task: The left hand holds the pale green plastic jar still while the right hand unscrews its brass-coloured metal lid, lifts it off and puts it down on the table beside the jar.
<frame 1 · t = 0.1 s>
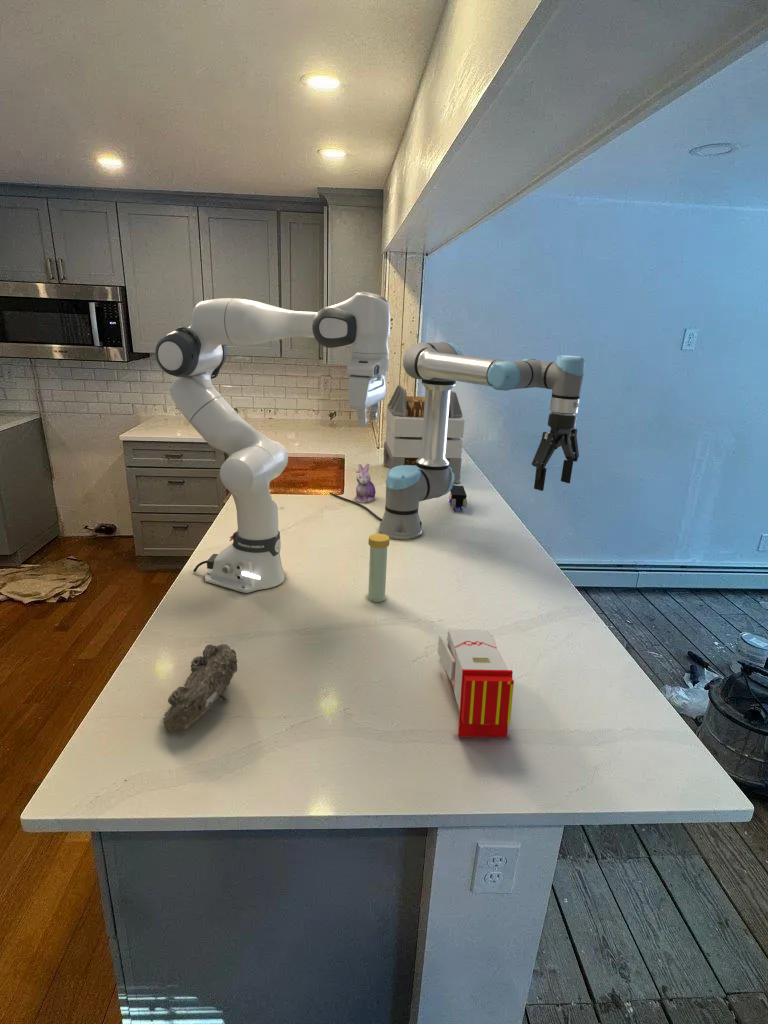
left hand: (368, 422, 140), 48 cm above the counter, tool pointing down, fingers open, 8 cm apart
right hand: (552, 485, 166), 28 cm above the counter, tool pointing down, fingers open, 13 cm apart
white slatted crate: (419, 473, 275), on the counter
figurine character: (456, 507, 229), on the counter
figurine: (365, 499, 234), on the counter
fossil: (207, 698, 113), on the counter
jar: (376, 597, 155), on the counter
toy: (469, 691, 119), on the counter
lid: (379, 538, 149), point 18 cm above the counter, screwed on, not yet turned
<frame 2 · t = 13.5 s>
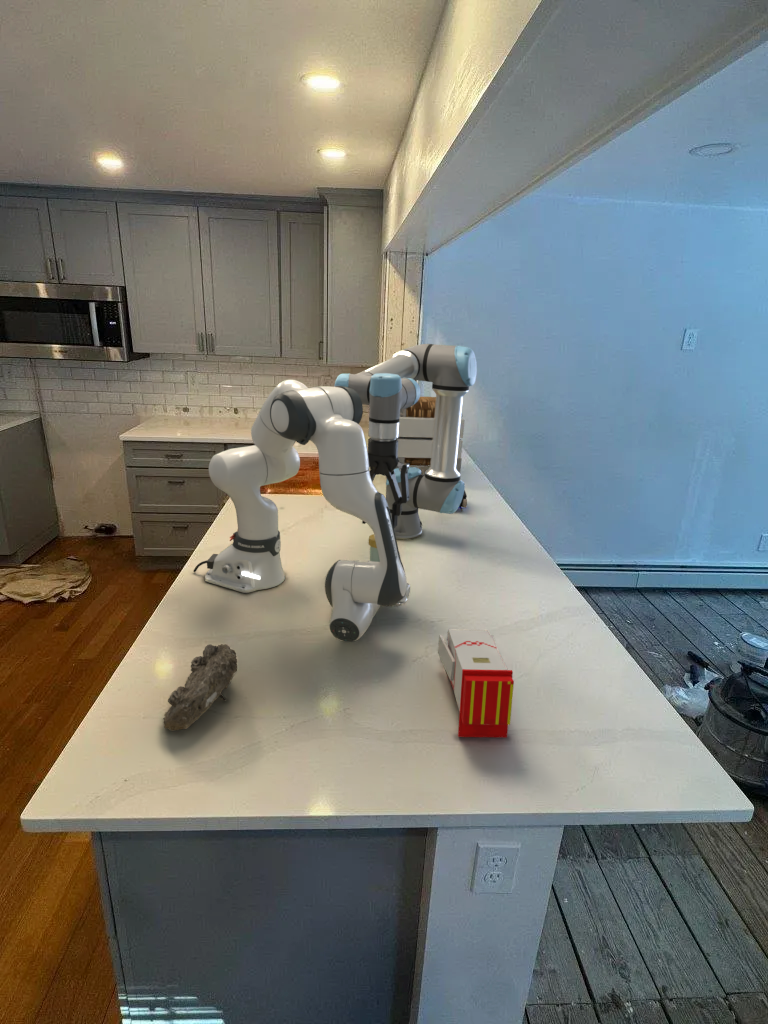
left hand: (378, 575, 154), 6 cm above the counter, tool horizontal, fingers closed on jar, 4 cm apart
right hand: (379, 524, 148), 22 cm above the counter, tool pointing down, fingers open, 7 cm apart
jar: (376, 597, 155), on the counter, touching left hand
everything else where it was.
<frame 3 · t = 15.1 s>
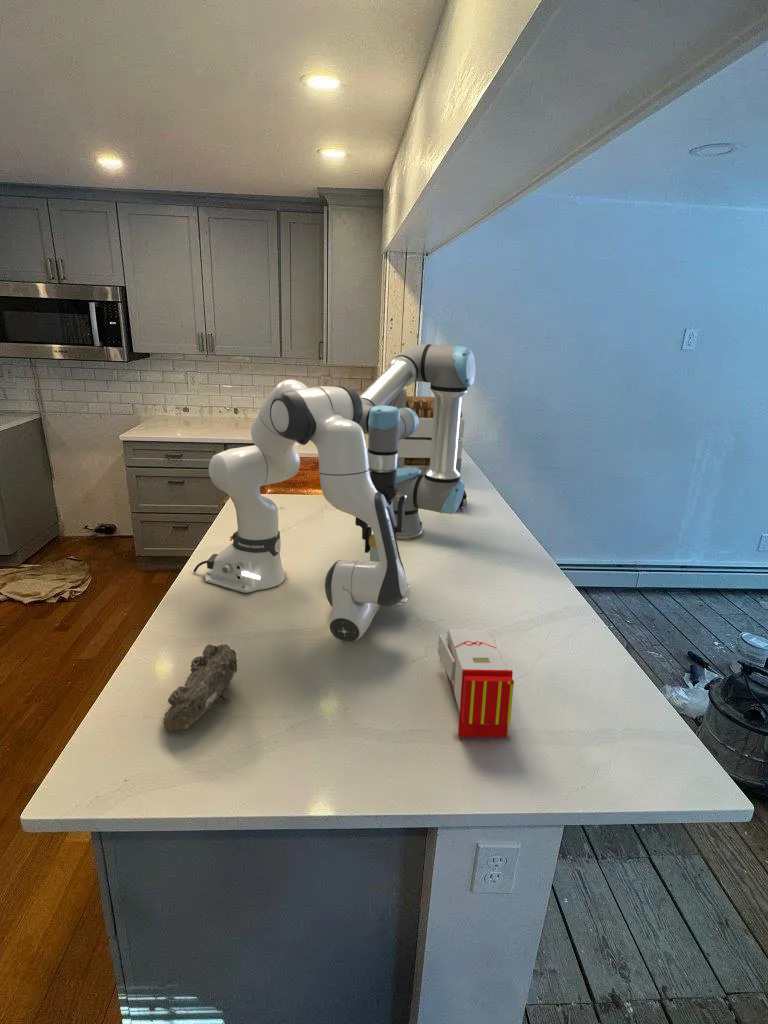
left hand: (378, 575, 154), 6 cm above the counter, tool horizontal, fingers closed on jar, 4 cm apart
right hand: (378, 552, 151), 13 cm above the counter, tool pointing down, fingers closed on lid, 5 cm apart
jar: (376, 597, 155), on the counter, touching left hand
lid: (379, 538, 149), point 18 cm above the counter, screwed on, not yet turned, touching right hand
everything else where it was.
when the right hand's fingers open (14 cm above the counter, at t = 16.5 s): lid stays where it is, point 18 cm above the counter.
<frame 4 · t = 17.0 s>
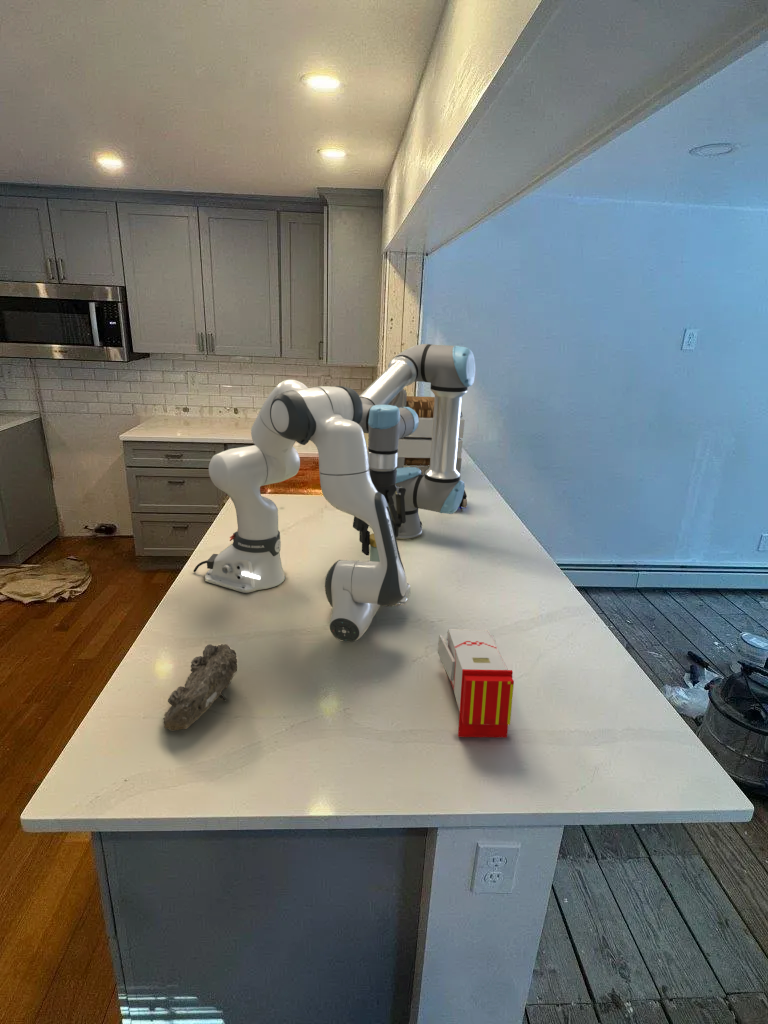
left hand: (378, 575, 154), 6 cm above the counter, tool horizontal, fingers closed on jar, 4 cm apart
right hand: (378, 550, 151), 14 cm above the counter, tool pointing down, fingers open, 7 cm apart
jar: (376, 597, 155), on the counter, touching left hand
lid: (379, 537, 149), point 18 cm above the counter, turned 89° so far, risen 0.2 cm, still on its thread
everything else where it was.
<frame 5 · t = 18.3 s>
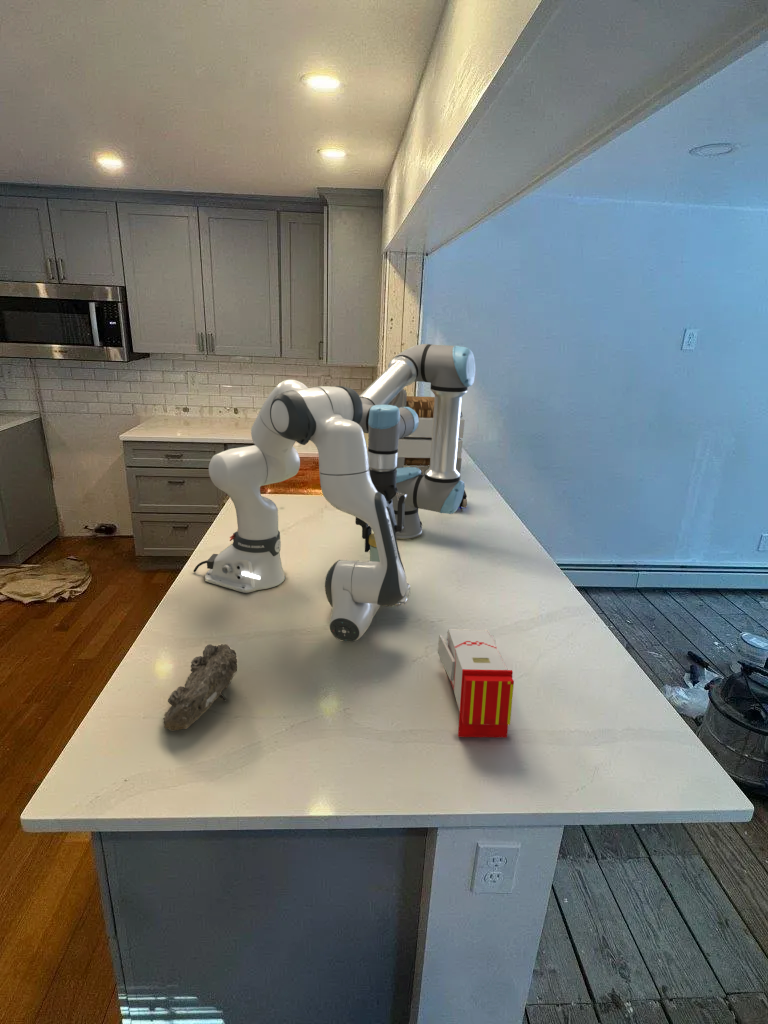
left hand: (378, 575, 154), 6 cm above the counter, tool horizontal, fingers closed on jar, 4 cm apart
right hand: (378, 551, 151), 14 cm above the counter, tool pointing down, fingers closed on lid, 5 cm apart
jar: (376, 597, 155), on the counter, touching left hand
lid: (379, 537, 149), point 18 cm above the counter, turned 89° so far, risen 0.2 cm, still on its thread, touching right hand
everything else where it was.
when the right hand's fingers open (0 cm above the counter, at t = 24.1 s): lid drops 3 cm, point 2 cm above the counter.
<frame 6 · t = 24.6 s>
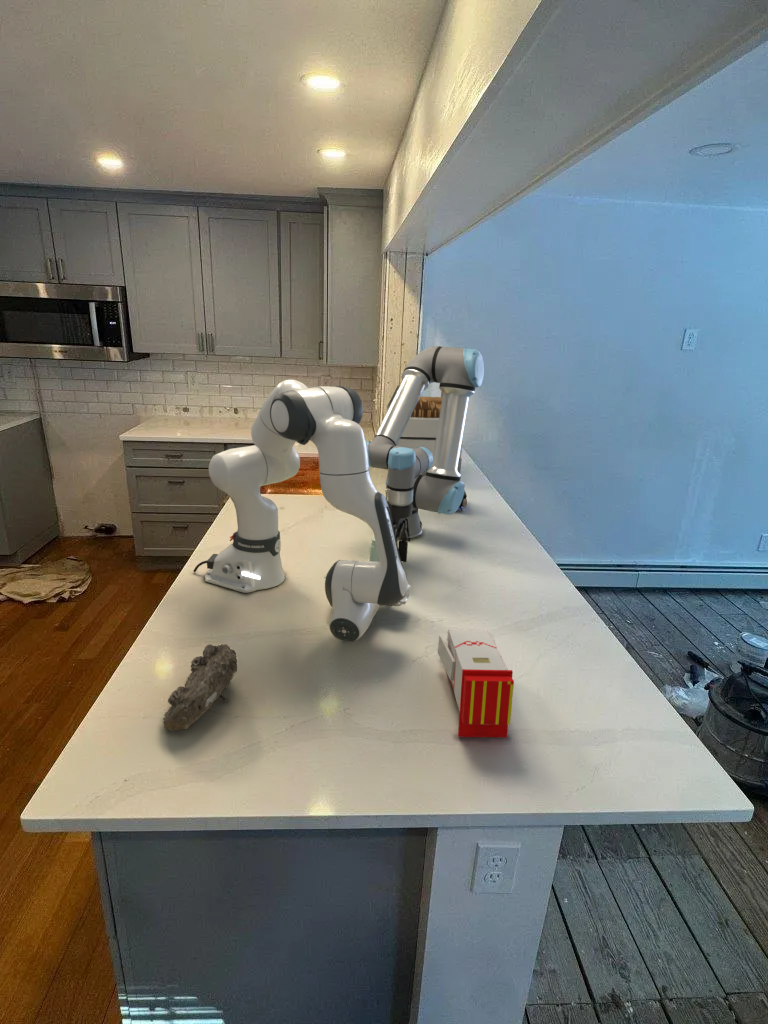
left hand: (378, 575, 154), 6 cm above the counter, tool horizontal, fingers closed on jar, 4 cm apart
right hand: (395, 569, 170), 1 cm above the counter, tool pointing down, fingers open, 13 cm apart
jar: (376, 597, 155), on the counter, touching left hand
lid: (395, 568, 169), point 2 cm above the counter, off its thread
everything else where it was.
when the left hand's fingers open (6 cm above the counter, at t = 25.3 s): jar stays where it is, on the counter.
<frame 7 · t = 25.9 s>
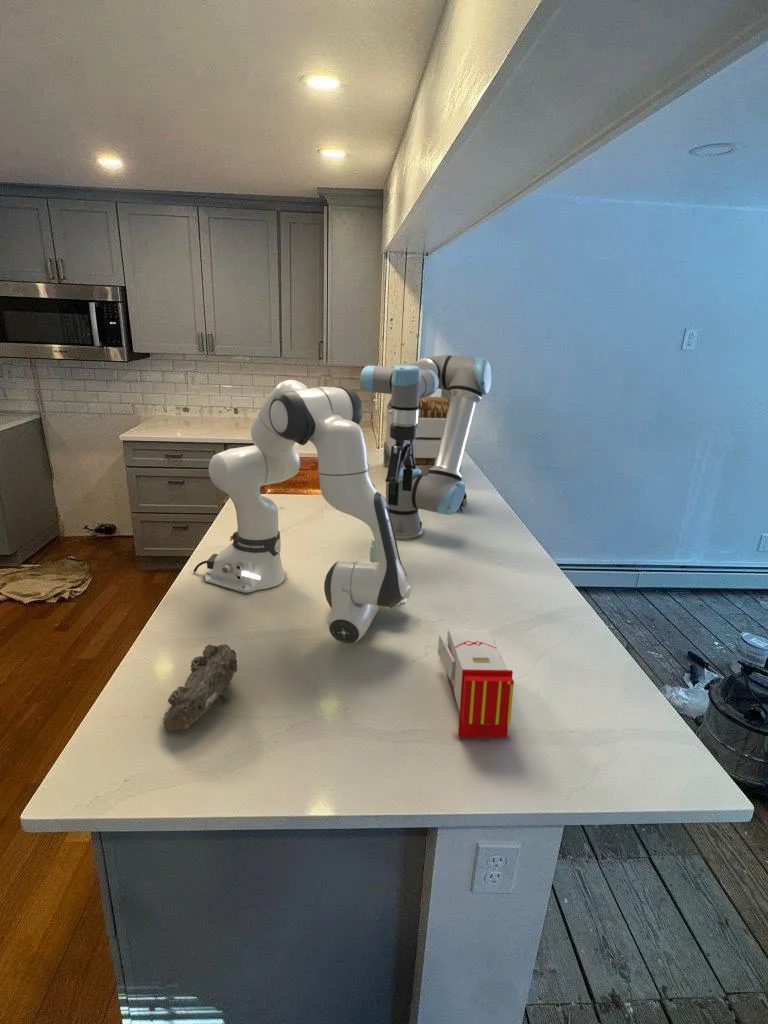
left hand: (377, 576, 153), 6 cm above the counter, tool horizontal, fingers open, 8 cm apart
right hand: (400, 497, 162), 24 cm above the counter, tool pointing down, fingers open, 13 cm apart
jar: (376, 597, 155), on the counter
everything else where it was.
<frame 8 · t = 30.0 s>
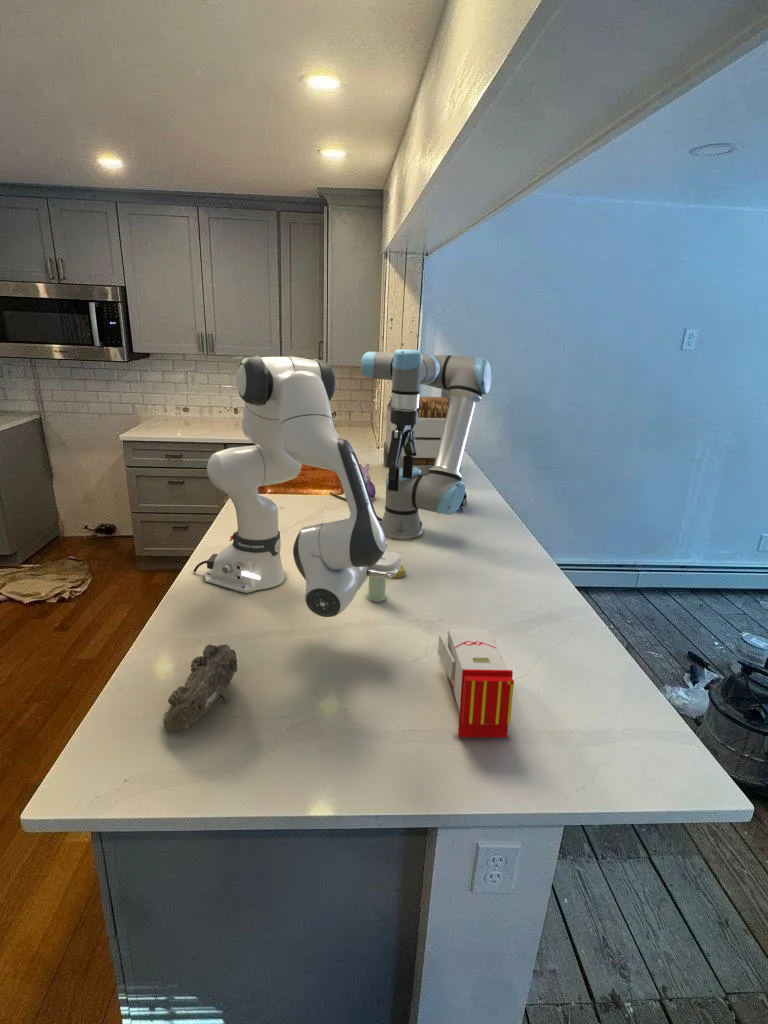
left hand: (365, 546, 136), 21 cm above the counter, tool horizontal, fingers open, 8 cm apart
right hand: (400, 484, 161), 28 cm above the counter, tool pointing down, fingers open, 13 cm apart
nothing on the counter moved.
at the end: lid came off its thread; lid point 1.6 cm above the counter; the left hand is holding nothing; the right hand is holding nothing; jar tilted 0°; jar moved 0.0 cm from its start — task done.
